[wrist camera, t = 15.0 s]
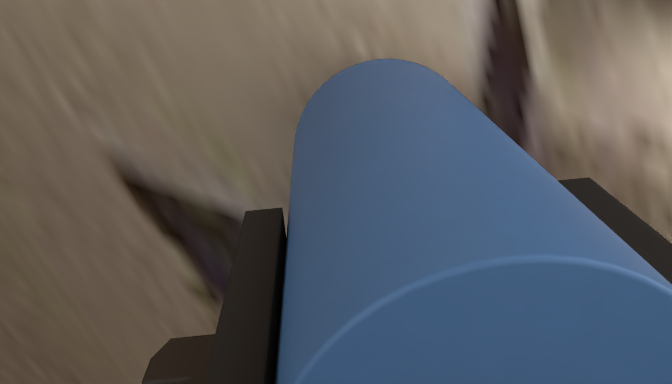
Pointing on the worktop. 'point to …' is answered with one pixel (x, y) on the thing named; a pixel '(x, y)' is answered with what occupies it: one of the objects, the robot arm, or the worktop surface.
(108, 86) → the worktop surface
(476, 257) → the tube
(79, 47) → the worktop surface
